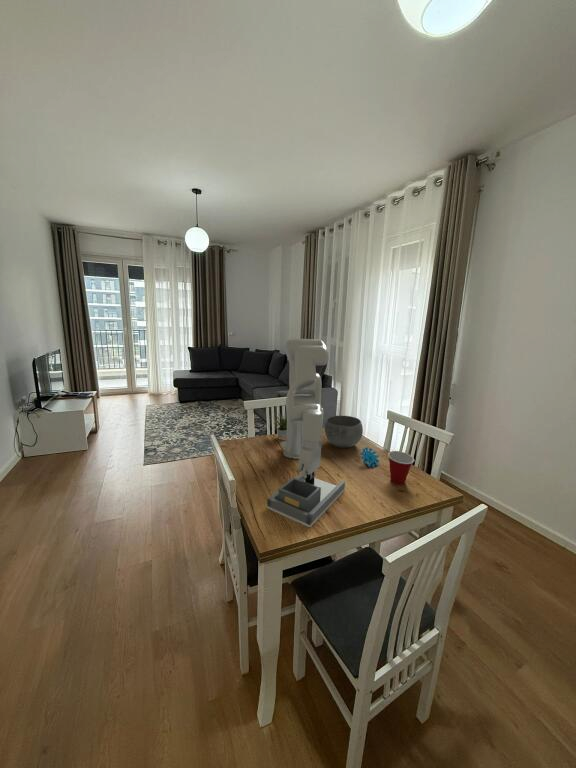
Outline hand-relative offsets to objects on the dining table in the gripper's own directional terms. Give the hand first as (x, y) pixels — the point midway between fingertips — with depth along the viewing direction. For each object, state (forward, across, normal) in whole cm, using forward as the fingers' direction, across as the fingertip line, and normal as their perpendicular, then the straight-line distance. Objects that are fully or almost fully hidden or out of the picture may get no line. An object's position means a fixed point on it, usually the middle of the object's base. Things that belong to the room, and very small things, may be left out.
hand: (309, 486), depth 118 cm
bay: (+5, +1, 0) cm, 5 cm away
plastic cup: (+6, -34, +26) cm, 43 cm away
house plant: (+7, -43, -43) cm, 61 cm away
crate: (+4, +7, 0) cm, 8 cm away
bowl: (+7, -55, -10) cm, 57 cm away
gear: (+6, -42, +10) cm, 44 cm away
